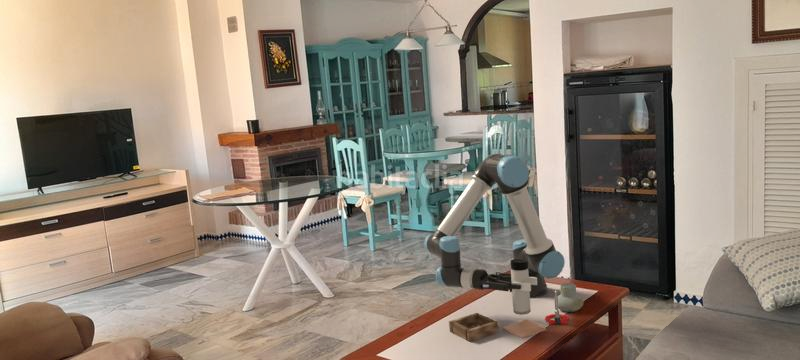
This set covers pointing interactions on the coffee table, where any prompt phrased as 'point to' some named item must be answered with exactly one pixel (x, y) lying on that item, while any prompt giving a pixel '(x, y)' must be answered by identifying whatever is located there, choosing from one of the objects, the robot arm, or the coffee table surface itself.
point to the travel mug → (520, 297)
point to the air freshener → (569, 298)
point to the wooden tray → (483, 330)
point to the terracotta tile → (524, 328)
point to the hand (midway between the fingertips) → (533, 284)
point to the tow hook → (556, 314)
